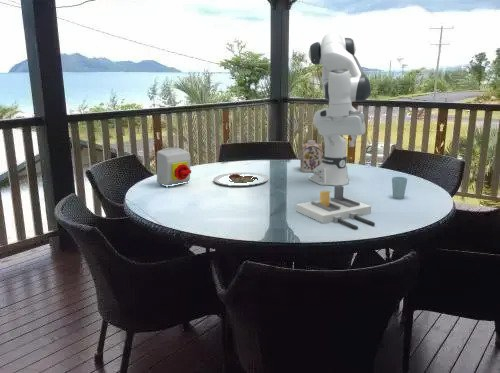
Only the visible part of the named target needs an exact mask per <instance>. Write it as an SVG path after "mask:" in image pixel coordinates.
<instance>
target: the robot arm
mask: <svg viewBox="0 0 500 373" xmlns="http://www.w3.org/2000/svg"><path fill="white" fill-rule="evenodd" d="M356 50H357V48H356V44H355V41H354V39H352V38H351V37H344V38H342V36H341V35H340V34H339V33H337V32H328V33H326V34H325V35H324V36H323V37H322V40H321V41H317V42H313V43H312V44H311V45H310V46H309V50H308V57H309V60H310V62H311V64H313V65H316V66H318V65H322V69H321V71H322V72H321V81H322V82H321V84H322V91H323V98H324V99H325V100H326V101H328V107H326V108H321V109H319V110H317V111H315V113H314V115H313V125H314V126H315V128H316V129H317V132H318V134H319V135H320V136H322V138H323V143H324V144H323V145H324V155H322V158H321V159H322V163H321V164H320V165H319V166H317V167H316V168H315V169H314V172H313V175H311V176H309V177H308V180H310V181H312V182H314V183H316V184H318V185H320V186H344V185H347V184H349V181H350V179H349V174H348V173H349V171H348V166H347V163H348V155H347V146H348V147H349V148H353V147H355V146H356V145H355V144H356V140H357V139H358V136H363V135H365V134H366V131H367V130H366V122H365V114H364V113H363V111H361V110H357V109H356V108H355V107H354V106H353V105H352V103H353V102H357V103H358V102H359V103H360V102H363V103H364V102H365V101H366V100H367V99H368V98H370V96H371V92H372V85H371V83H370V79H369V78H368V77H367V76H366V73H365V72H364V70H363V69H362V68H363V67H362V66H361V64H360V62H359V60H358V59H357V57H356V56H355V54H356ZM342 136H350V139H351V140H350V142H348V143H347V141H346V139H345V138H344V137H342ZM347 144H348V145H347Z"/></svg>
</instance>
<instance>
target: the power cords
mask: <svg viewBox="0 0 500 373" xmlns="http://www.w3.org/2000/svg"><path fill="white" fill-rule="evenodd" d="M348 219H351V220H357V221H359V222H362V223H364V224H367V225H370V226H372V227H373V226H375V225H376V223H375V222H374V221H372V220H368V219H366V218H363V217H362V216H358V213H356V212H352V213H350V216H349V218H348ZM332 222H334V223H335V224H336V223H339V224H341V225H344V226H346V227H349V228H351V229H352V230H358V229H359V227H358V225H356V224H353V223H351V222H349V221H346V220H345V219H342V217H341V216H339V215H338V216H333V221H332Z"/></svg>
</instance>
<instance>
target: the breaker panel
mask: <svg viewBox="0 0 500 373" xmlns="http://www.w3.org/2000/svg"><path fill="white" fill-rule="evenodd" d="M295 209H296V212H297V211H298V212H297V213H299V212H300V213H299V214H301V213H302V214H301V215H303V214H304V216H306V215H307V216H306V217H308V216H309V217H308V218H310V217H311V219H312V218H313V220H314V219H315V220H314V221H317V222H319V223H321V224H327V223H331V222H332V223H333V222H334V221H333V216H338V215H339V216H341V217H342V220H345V219H350V218H349V216H350V213H352V212H356V213H358V216H359V217H362V216H363V215H370V214H372V206H371V205H369V204H366V203H363V202H361V201H357V200H355V199H352V198H348V197H345V196H343V200H342V201H340V200H337V199H334V197H330V204H329V206H327V207H326V206H324V205H321V204H320V199H319V200H312V201H308V202H307V201H306V202H302V203H297V204H296V208H295Z"/></svg>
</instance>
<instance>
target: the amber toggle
mask: <svg viewBox="0 0 500 373" xmlns="http://www.w3.org/2000/svg"><path fill="white" fill-rule="evenodd" d="M330 195H331V191H329V190H322V191H320V195H319V200H320V204H321V205H324V206H326V207H327V206H329V204H330V198H331V196H330Z"/></svg>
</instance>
